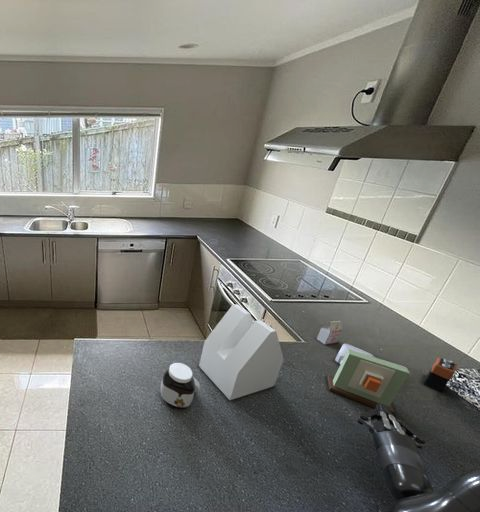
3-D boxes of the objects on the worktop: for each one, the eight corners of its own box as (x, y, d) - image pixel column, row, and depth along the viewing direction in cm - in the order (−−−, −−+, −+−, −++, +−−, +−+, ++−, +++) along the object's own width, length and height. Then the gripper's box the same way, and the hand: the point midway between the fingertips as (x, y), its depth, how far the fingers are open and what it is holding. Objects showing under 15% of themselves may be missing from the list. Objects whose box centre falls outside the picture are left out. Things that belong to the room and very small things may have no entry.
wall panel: (387, 399, 93) (408, 363, 87) (393, 416, 87) (416, 379, 81) (327, 377, 101) (343, 343, 95) (329, 391, 95) (346, 356, 89)
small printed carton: (316, 338, 121) (324, 319, 117) (328, 337, 122) (337, 318, 118) (324, 344, 117) (333, 324, 114) (337, 342, 119) (346, 323, 115)
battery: (443, 384, 100) (459, 362, 96) (440, 392, 96) (456, 370, 92) (426, 376, 103) (440, 354, 99) (422, 383, 99) (436, 362, 96)
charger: (330, 368, 105) (339, 351, 114) (362, 384, 98) (369, 365, 107) (334, 358, 103) (344, 342, 112) (367, 373, 96) (375, 355, 105)
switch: (374, 388, 87) (379, 380, 86) (376, 392, 86) (381, 383, 85) (363, 384, 89) (368, 376, 87) (365, 388, 87) (369, 379, 86)
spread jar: (157, 402, 88) (162, 374, 83) (163, 377, 98) (167, 350, 93) (197, 416, 84) (204, 387, 80) (199, 388, 94) (205, 361, 89)
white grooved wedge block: (239, 355, 109) (255, 300, 100) (273, 386, 96) (296, 325, 86) (198, 366, 103) (212, 308, 94) (229, 400, 90) (248, 337, 80)
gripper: (450, 466, 60) (420, 408, 74) (369, 433, 67) (356, 385, 80) (432, 487, 63) (407, 428, 77) (357, 453, 70) (346, 404, 83)
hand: (381, 406), depth 79 cm, fingers closed
